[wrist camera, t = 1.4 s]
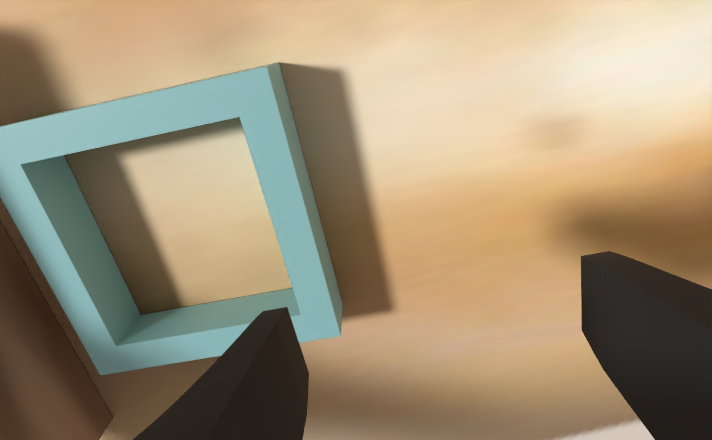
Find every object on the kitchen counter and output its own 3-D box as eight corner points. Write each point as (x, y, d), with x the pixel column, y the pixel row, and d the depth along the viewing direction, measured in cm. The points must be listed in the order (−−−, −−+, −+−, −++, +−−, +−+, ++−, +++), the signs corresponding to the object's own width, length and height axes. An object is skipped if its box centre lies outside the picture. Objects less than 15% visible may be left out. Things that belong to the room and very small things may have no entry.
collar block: (125, 342, 24) (100, 375, 21) (13, 122, 19) (-35, 134, 17) (342, 305, 22) (340, 336, 20) (279, 62, 18) (266, 66, 16)
